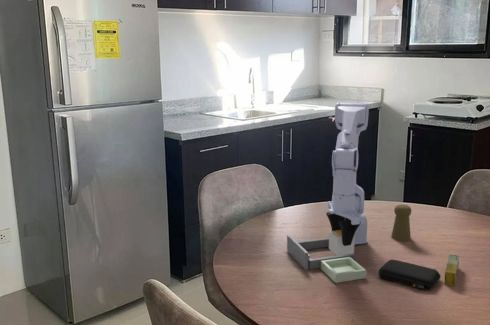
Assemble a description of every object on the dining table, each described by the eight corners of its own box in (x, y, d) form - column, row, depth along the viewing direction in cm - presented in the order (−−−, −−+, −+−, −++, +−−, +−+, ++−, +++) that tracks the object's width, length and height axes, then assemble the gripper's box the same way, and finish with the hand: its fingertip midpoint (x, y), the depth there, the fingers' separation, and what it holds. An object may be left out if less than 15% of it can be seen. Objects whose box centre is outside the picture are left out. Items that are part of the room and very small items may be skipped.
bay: (349, 264, 139) (349, 256, 138) (365, 278, 130) (366, 270, 130) (320, 268, 136) (320, 260, 136) (335, 282, 128) (335, 274, 127)
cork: (406, 242, 154) (409, 209, 151) (388, 238, 157) (390, 206, 155) (413, 237, 158) (415, 204, 156) (395, 233, 162) (397, 201, 159)
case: (332, 244, 153) (333, 229, 151) (355, 262, 140) (355, 246, 138) (287, 250, 148) (287, 235, 147) (305, 269, 135) (305, 253, 134)
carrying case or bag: (373, 280, 130) (430, 295, 121) (374, 269, 129) (431, 284, 121) (387, 266, 138) (441, 279, 130) (388, 256, 137) (442, 269, 129)
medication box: (448, 267, 137) (448, 253, 136) (458, 268, 136) (459, 255, 135) (444, 285, 126) (444, 271, 125) (455, 287, 125) (456, 273, 124)
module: (345, 246, 135) (345, 228, 134) (353, 253, 131) (354, 234, 130) (328, 248, 134) (329, 230, 133) (336, 255, 129) (337, 236, 128)
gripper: (318, 187, 135) (317, 233, 138) (342, 202, 121) (341, 253, 124) (341, 185, 136) (339, 230, 139) (368, 199, 123) (365, 250, 126)
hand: (342, 241), depth 132 cm, fingers closed on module, 5 cm apart
